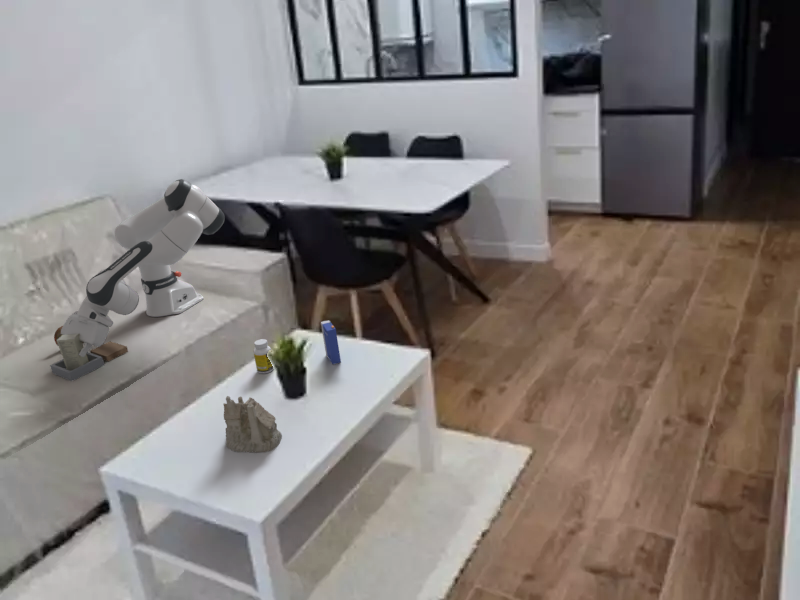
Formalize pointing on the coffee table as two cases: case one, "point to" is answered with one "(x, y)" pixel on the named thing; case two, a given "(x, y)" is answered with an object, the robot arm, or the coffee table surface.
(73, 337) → the skincare box
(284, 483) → the coffee table surface
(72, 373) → the bin
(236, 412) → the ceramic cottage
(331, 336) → the walkman
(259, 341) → the supplement bottle
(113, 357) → the riser
